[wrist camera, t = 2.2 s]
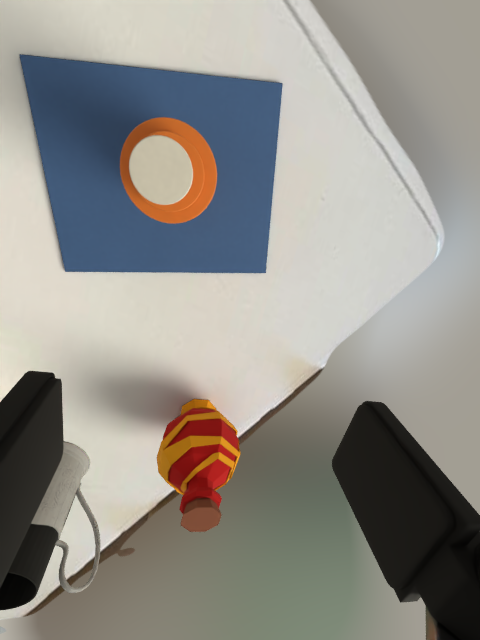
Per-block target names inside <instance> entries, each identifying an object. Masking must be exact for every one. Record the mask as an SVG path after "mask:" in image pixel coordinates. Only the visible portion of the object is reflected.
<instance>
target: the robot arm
mask: <svg viewBox="0 0 480 640" xmlns="http://www.w3.org/2000/svg"><path fill="white" fill-rule="evenodd" d="M63 449H64V446H63V413H62V383H61V379H55V375H54V373H49V372H38V371H28V372H27V373H25V374H24V376H23V377H22V378H21V379H20V380H19V381H18V382H17V384H16V385H15V386H14V387H13V388H12V389H11V390H10V392H9V393H8V394H7V395H6V396H5V397H4V398H3V400H2V401H1V402H0V588H1V586H2V583H3V581H4V579H5V577H6V575H7V573H8V571H9V569H10V567H11V565H12V562H13V560H14V558H15V556H16V554H17V552H18V550H19V548H20V546H21V544H22V541H23V539H24V537H25V535H26V533H27V531H28V529H29V527H30V525H31V523H32V520H33V518H34V516H35V514H36V512H37V510H38V508H39V506H40V504H41V502H42V500H43V497H44V495H45V493H46V491H47V489H48V487H49V485H50V483H51V481H52V479H53V476H54V474H55V472H56V470H57V468H58V466H59V464H60V461H61V459H62V455H63ZM332 467H333V471H334V473H335V475H336V477H337V479H338V481H339V483H340V485H341V487H342V489H343V491H344V494H345V496H346V498H347V500H348V502H349V504H350V506H351V508H352V510H353V512H354V514H355V517H356V519H357V521H358V523H359V525H360V527H361V529H362V531H363V533H364V535H365V537H366V540H367V542H368V544H369V546H370V548H371V550H372V552H373V554H374V556H375V558H376V560H377V562H378V565H379V567H380V569H381V571H382V573H383V575H384V577H385V579H386V581H387V583H388V584H389V585H390V586H391V587H392V588H393V589H394V590H395V592H396V595H397V597H398V598H399V601H400V602H411V601H417V600H418V599H419V598H420V597H421V598H422V599H423V601H424V603H425V605H426V640H480V515H479V514H478V513H477V512H476V511H475V509H474V508H473V507H472V506H471V505H470V503H469V502H468V501H467V500H466V499H465V498H464V496H462V494H461V493H460V492H459V491H458V489H457V488H456V487H455V486H454V485H453V484H452V482H451V481H450V480H449V479H448V478H447V477H446V475H445V474H444V473H443V472H442V471H441V470H440V468H439V467H438V466H437V465H436V464H435V462H434V461H433V460H432V459H431V458H430V457H429V455H428V454H427V453H426V452H425V451H424V450H423V449H422V447H421V446H420V445H419V444H418V442H417V441H416V440H415V439H414V438H413V437H412V435H411V434H410V433H409V432H408V431H407V430H406V428H405V427H404V426H403V425H402V424H401V423H400V421H399V420H398V419H397V418H396V417H395V416H394V414H393V413H392V412H391V411H390V410H389V408H388V407H387V406H386V405H385V404H384V403H381V402H372V401H365V402H363V404H362V405H360V406H359V407H358V408H357V411H356V413H355V414H354V417H353V418H352V421H351V423H350V425H349V427H348V429H347V431H346V433H345V435H344V437H343V439H342V441H341V443H340V445H339V447H338V449H337V451H336V453H335V455H334V457H333V460H332Z"/></svg>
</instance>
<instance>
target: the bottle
mask: <svg viewBox="0 0 480 640" xmlns="http://www.w3.org/2000/svg"><path fill="white" fill-rule="evenodd" d="M120 174H121V179H122V182H123V185H124V188H125V190H126V192H127V194H128V196H129V197H130V199H131V201H132V202H133V203H134V204H135V206H136V207H137V208H138V209H139V210H141V211H142V212H143V213H144V214H146V215H147V216H149V217H151V218H153V219H155V220H157V221H160V222H164V223H173V224H176V223H183V222H187V221H189V220H192V219H194V218H195V217H197V216H198V215H200V214H201V213H202V212H203V211H204V210H205V209H206V208H207V206H208V205H209V203H210V202H211V200H212V198H213V195H214V193H215V189H216V184H217V167H216V163H215V159H214V156H213V153H212V151H211V149H210V147H209V145H208V144H207V142H206V140H205V139H204V138H203V137H202V135H201V134H200V133H199V132H198V131H197V130H195V129H194V128H193V127H191V126H190V125H188V124H187V123H185V122H183V121H180V120H178V119H174V118H167V117H159V118H153V119H150V120H147V121H145V122H143V123H141V124H140V125H138V126H137V127H136V128H135V129H134V130H133V131H132V132H131V133H130V134H129V136H128V137H127V139H126V141H125V143H124V145H123V148H122V151H121V156H120Z"/></svg>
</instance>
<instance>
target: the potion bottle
mask: <svg viewBox="0 0 480 640" xmlns="http://www.w3.org/2000/svg"><path fill="white" fill-rule="evenodd" d="M237 432H238V431H237V430H236V429H235V427H234V426H233V425H232V424H231V423H230V422H229V421H228V420H227V419H226V418H225V417H224V416H223V415H222V414H221V413H220V412H218V411H217V410H216V408H215V407H214V406H213V405H212V404H211V402H210V401H209V400H200V399H193V400H192V401H190V402H188V403H187V404H185V405H183V406H182V410H181V415H180V416H179V417H177V418H175V419H174V420H173V421H172V422H170V423H169V424H168V425H167V428H166V430H165V433H164V436H163V441H162V442H161V445H160V448H159V452H158V455H157V463H158V472H159V473H160V475H161V476H162V477H163V478H164V480H165V481H166V482H167V483H168V484H169V485H170V486H172V487H173V488H174V489H175V490H176V491H177V492H179V493H181V494H182V495H183V497H182V501H181V505H180V511H181V512H182V513H183V517H182V521H181V526H183V527H184V528H185V529H187V530H188V531H190V532H194V531H195V532H201V531H207V530H209V529H211V528H213V527H214V526H217V525H218V524H219V521H220V518H221V513H220V510H219V505H220V502H221V499H222V498H221V496H220V495H219V494H218V493H217V492H216V490H217V489H219V488H220V487H222V486H224V485H225V484H226V483H227V482H228V480H229V479H231V477H232V475H233V472H234V470H235V467H236V464H237V462H238V459H239V456H240V449H239V440H238V438H237V436H236V435H237ZM233 466H234V467H233ZM232 469H233V471H232Z"/></svg>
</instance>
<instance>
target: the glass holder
mask: <svg viewBox="0 0 480 640" xmlns="http://www.w3.org/2000/svg"><path fill="white" fill-rule="evenodd" d="M63 446H64V449H63V455H62V459H61V461H60V464H59V466H58V468H57V470H56V472H55V474H54V476H53V479H52V481H51V483H50V485H49V487H48V489H47V491H46V493H45V495H44V497H43V500H42V502H41V504H40V506H39V508H38V510H37V512H36V514H35V516H34V518H33V520H32V523H31V525H30V527H29V529H28V531H27V533H26V535H25V537H24V539H23V541H22V544H21V546H20V548H19V550H18V552H17V554H16V556H15V558H14V560H13V562H12V565H11V567H10V569H9V571H8V573H7V575H6V577H5V579H4V581H3V583H2V586H1V588H0V610H7V609H12V608H16V607H19V606H22V605H24V604H26V603H28V602H30V601H31V600H32V599H33V598H34V597H35V596H36V594H37V592H38V589H39V587H40V584H41V581H42V579H43V576H44V573H45V571H46V568H47V565H48V563H49V560H50V557H51V555H52V552H53V549H54V547H55V545H57V546H59V547H61V548H62V549H63V557H62V561H61V564H60V569H59V580H60V584H61V586H62V587H63V589H64V590H65V591H67V592H69V593H76V592H80V591H82V590H84V589H85V588H87V587H88V586H89V584H90V583H91V582H92V580H93V579H94V576H95V574H96V571H97V567H98V563H99V558H100V534H99V529H98V524H97V522H96V520H95V518H94V516H93V514H92V512H91V510H90V508H89V506H88V505H87V503H86V501H85V499H84V498H83V496H82V493H81V491H80V485H81V483H80V481H81V479H82V477H83V476H84V475H85V474H86V472H87V471H88V469H89V466H90V460H89V457H88V456H87V454H86V453H85V452H84V451H83V450H82V449H81V448H79V447H78V446H76V445H73V444H71V443H67V442H63ZM75 495H77V497H78V499H79V501H80V503H81V505H82V507H83V509H84V510H85V512H86V514H87V516H88V518H89V520H90V522H91V524H92V527H93V531H94V536H95V544H96V551H95V561H94V566H93V571H92V574H91V577H90V579H89V581H88V582H87V584H86V585H84V586H83V587H78V588H75V587H72V586H70V585H69V584H68V582H67V581H66V578H65V575H64V567H65V563H66V559H67V555H68V545H67V544H66V543H65V542H63V541H60V540H59V538H60V535H61V532H62V530H63V527H64V524H65V522H66V519H67V516H68V514H69V511H70V508H71V506H72V503H73V500H74V498H75Z"/></svg>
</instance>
